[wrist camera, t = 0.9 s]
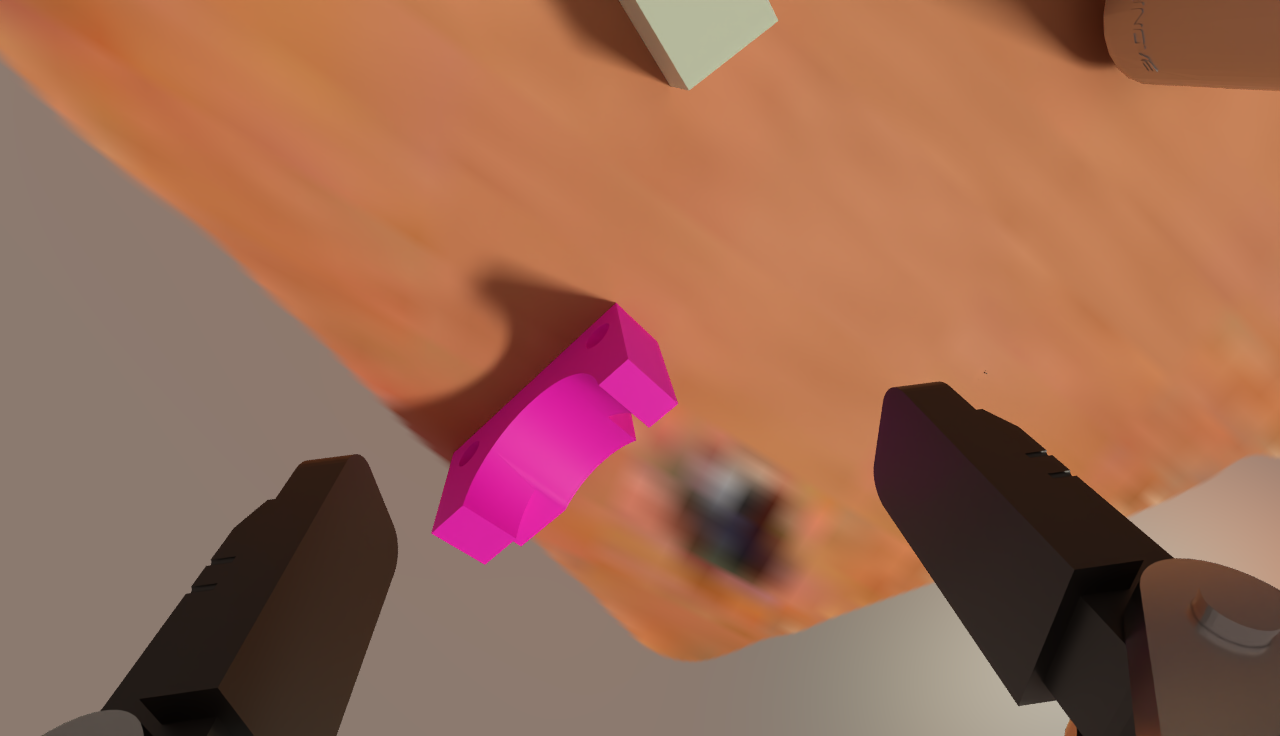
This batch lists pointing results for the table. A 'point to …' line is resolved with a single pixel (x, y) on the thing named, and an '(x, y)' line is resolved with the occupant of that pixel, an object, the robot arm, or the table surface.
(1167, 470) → the table surface
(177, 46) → the table surface
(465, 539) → the toy block
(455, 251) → the table surface
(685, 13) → the green brick
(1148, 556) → the robot arm
